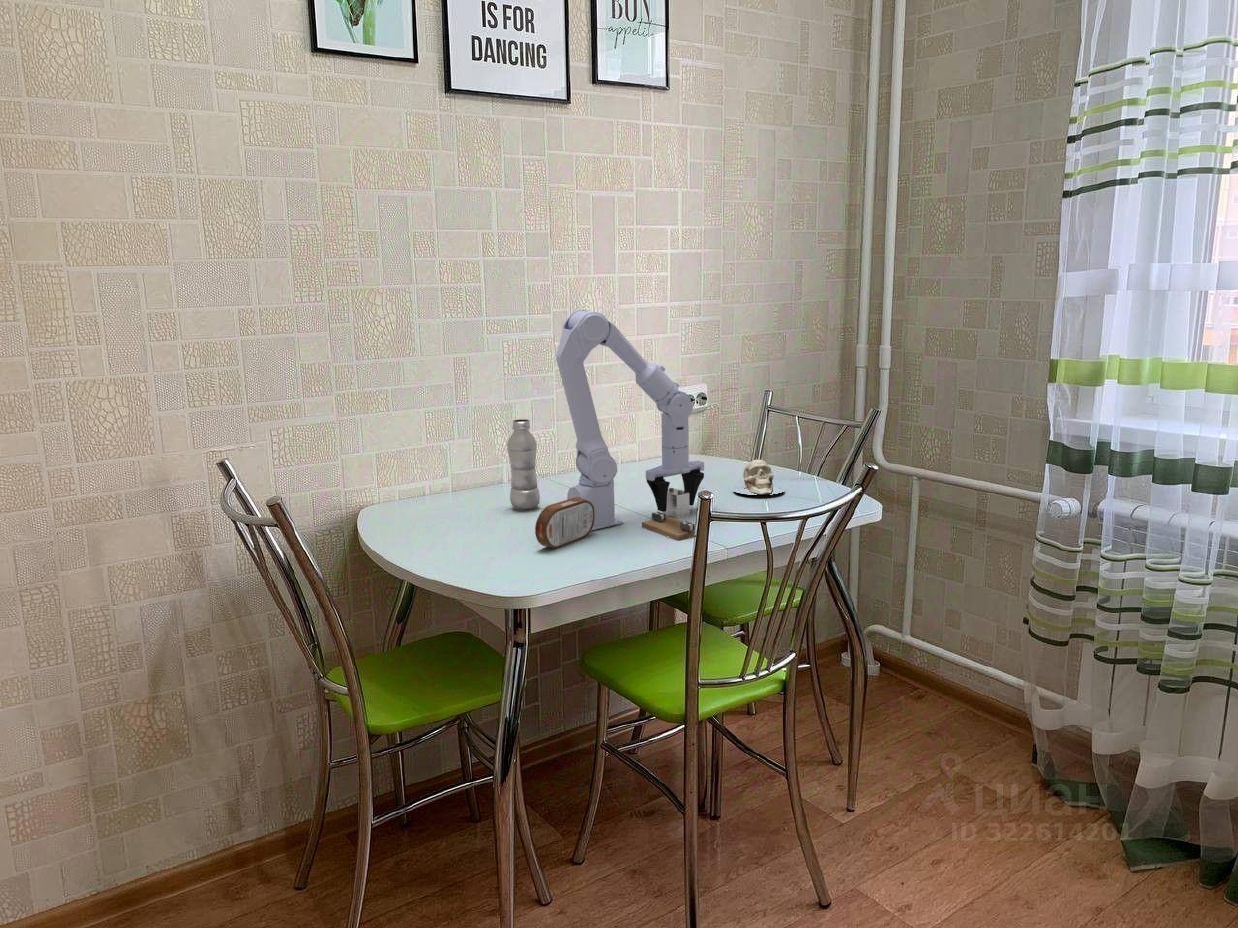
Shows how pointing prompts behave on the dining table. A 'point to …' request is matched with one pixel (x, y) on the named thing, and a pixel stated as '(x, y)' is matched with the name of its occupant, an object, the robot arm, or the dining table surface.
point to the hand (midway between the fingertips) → (675, 507)
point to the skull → (758, 477)
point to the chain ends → (683, 525)
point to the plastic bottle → (523, 466)
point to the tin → (564, 522)
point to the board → (668, 528)
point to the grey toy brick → (677, 503)
